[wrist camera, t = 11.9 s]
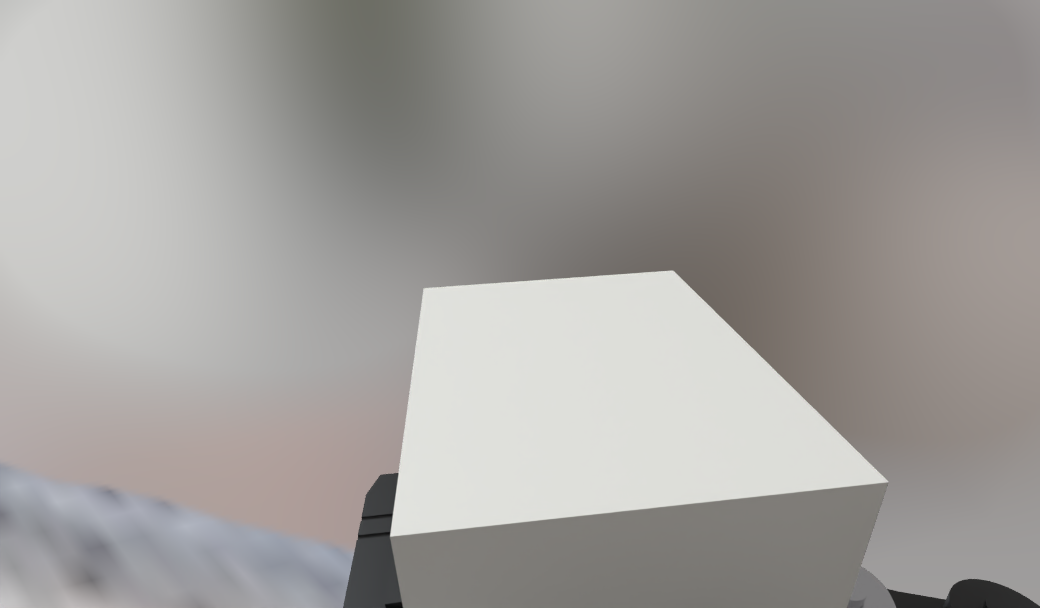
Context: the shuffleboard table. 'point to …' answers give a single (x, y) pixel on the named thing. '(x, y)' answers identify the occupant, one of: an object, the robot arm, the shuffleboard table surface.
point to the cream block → (616, 458)
